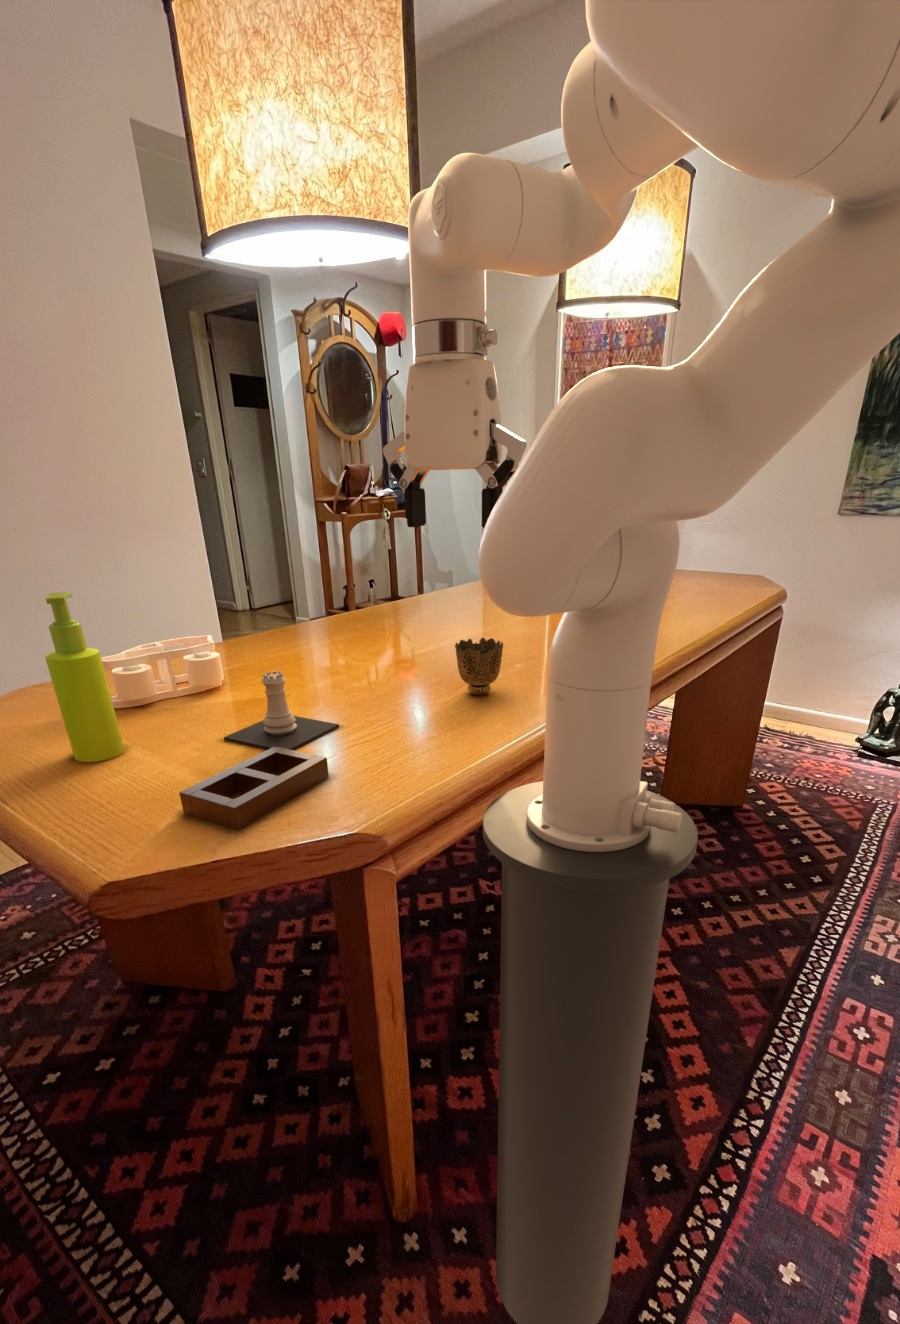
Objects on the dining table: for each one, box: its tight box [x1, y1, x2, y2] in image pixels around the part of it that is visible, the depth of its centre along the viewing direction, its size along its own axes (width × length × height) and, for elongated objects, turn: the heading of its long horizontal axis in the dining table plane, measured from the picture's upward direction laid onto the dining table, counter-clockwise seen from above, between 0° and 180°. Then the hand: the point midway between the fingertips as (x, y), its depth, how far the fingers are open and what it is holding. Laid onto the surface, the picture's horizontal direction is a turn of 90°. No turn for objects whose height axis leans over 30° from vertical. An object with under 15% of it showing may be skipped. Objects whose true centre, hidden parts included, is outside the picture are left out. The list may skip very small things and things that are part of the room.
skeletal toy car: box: [101, 634, 225, 709], centre depth 109 cm, size 20×11×7 cm, turn 131°
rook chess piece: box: [261, 670, 297, 735], centre depth 91 cm, size 4×4×8 cm
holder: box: [179, 747, 330, 831], centre depth 75 cm, size 8×14×2 cm, turn 151°
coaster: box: [223, 715, 340, 751], centre depth 92 cm, size 11×11×1 cm
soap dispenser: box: [44, 591, 125, 763], centre depth 83 cm, size 6×7×20 cm
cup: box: [454, 637, 504, 696], centre depth 105 cm, size 8×7×8 cm
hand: (452, 526), depth 77 cm, fingers open, 9 cm apart
